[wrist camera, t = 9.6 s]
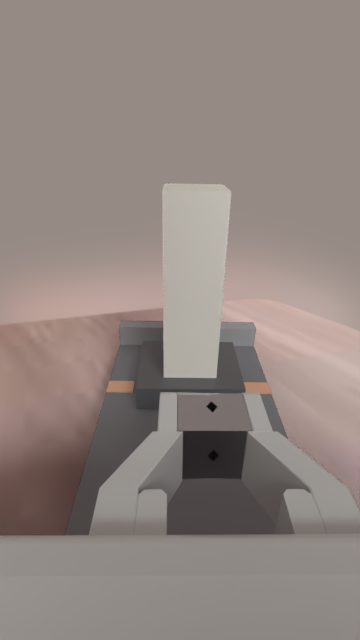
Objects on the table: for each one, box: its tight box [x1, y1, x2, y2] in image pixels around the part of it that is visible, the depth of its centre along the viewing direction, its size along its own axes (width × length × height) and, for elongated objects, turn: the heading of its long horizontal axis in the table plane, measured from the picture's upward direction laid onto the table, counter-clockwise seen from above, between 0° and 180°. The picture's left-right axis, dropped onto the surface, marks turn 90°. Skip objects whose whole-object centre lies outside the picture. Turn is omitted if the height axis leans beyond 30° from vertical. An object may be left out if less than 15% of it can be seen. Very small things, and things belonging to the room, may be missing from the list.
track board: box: [65, 321, 288, 535], centre depth 15 cm, size 26×10×4 cm, turn 0°
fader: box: [135, 184, 246, 409], centre depth 19 cm, size 5×6×11 cm
